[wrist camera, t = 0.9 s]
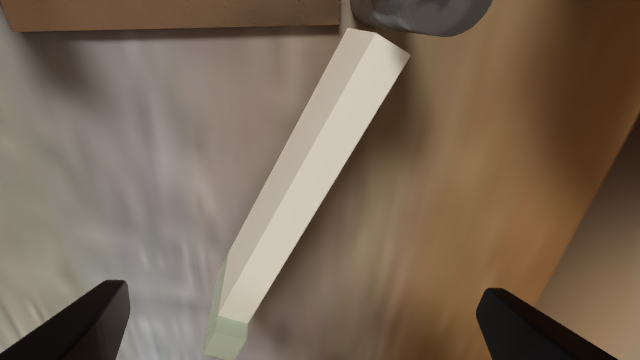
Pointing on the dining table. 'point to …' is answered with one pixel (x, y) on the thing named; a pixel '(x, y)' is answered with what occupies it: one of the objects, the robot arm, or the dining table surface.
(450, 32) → the gate posts
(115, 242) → the dining table surface
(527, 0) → the dining table surface
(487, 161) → the dining table surface
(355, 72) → the gate
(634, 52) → the dining table surface
